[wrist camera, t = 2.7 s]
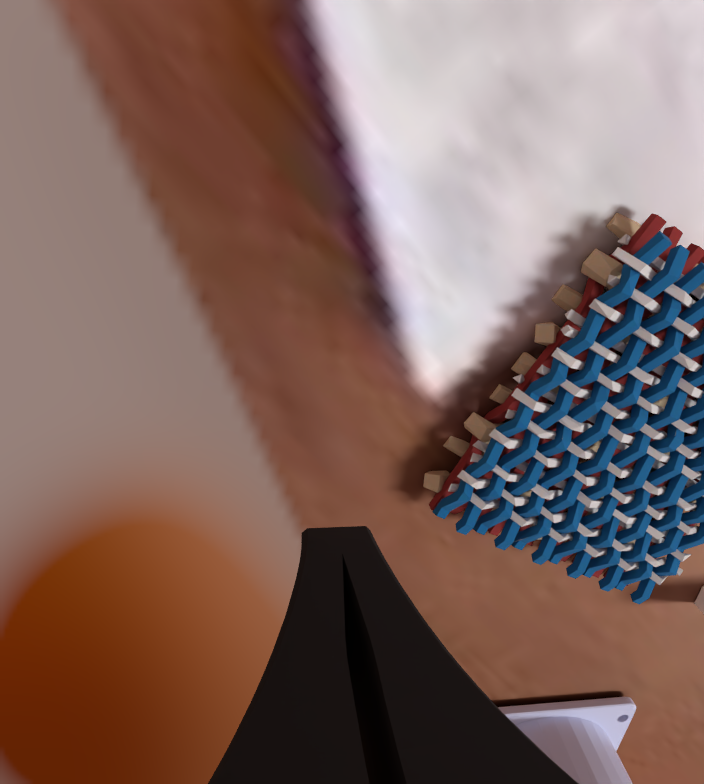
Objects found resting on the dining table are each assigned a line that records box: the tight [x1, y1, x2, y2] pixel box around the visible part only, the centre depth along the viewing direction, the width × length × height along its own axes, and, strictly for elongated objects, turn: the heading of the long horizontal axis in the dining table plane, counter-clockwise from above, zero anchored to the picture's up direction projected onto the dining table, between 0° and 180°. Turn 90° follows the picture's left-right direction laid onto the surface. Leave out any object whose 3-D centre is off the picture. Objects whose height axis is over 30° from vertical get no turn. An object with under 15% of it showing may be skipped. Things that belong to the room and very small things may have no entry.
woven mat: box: [423, 213, 704, 604], centre depth 17 cm, size 10×11×2 cm
